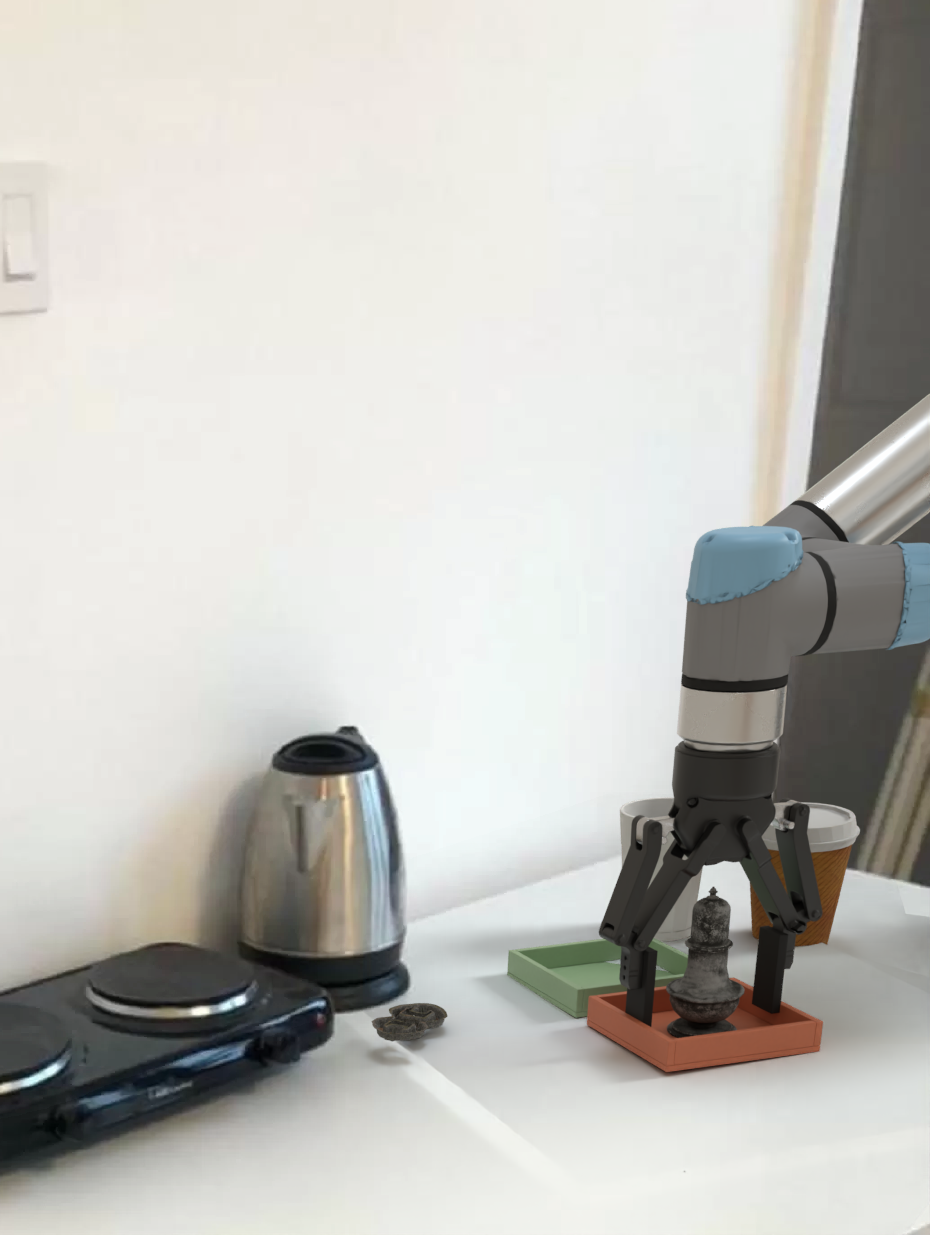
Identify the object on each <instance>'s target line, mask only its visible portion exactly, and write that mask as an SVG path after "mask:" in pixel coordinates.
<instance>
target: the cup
mask: <svg viewBox="0 0 930 1235" xmlns="http://www.w3.org/2000/svg"><path fill="white" fill-rule="evenodd" d="M673 801H674V797H649V798H648V797H647V798H641V799H635V800H632V801H629V802H626V803H624V804H622V805H621V806H620V808H619V825H620V826H619V828H620V845H621V867H622V866H623V864H624V861H625V858H626V856H627V853H628V850H629V848H630V845H631V824H632V820H633V819H634V817H636V816H638V815H643V816H645V817H647V818H654V817H661V816H667V815H668V813H669V811H670V809H671V807H672V805H673ZM666 838H667V843H666V844H662V846H661V852H660V856H659V859H658V862H657V865H656V868H655V870H654V873H653V876H652V878H651V881H650V884H651V883H652V881H653V880H654V878H655V876H656V875H657V873H658V872H659V870H660V868H661V867H662V865H663V857H664V855H665V853H666V852H667V850H668V849H669V847H670V845H671V844H672V842H673V841H674V837H673V835H672V834H671V832H670V833H669V834H668V835H667V837H666ZM682 859H683V860H686V859H688V858H687V857H686V856H685V854H684V856H683V858H682ZM703 868H704V866H703V867H702V869H701V871H700V872H699V873H698V874H697V875H696V876H694V877H692V878H691V879H690V881H689V882H688V884H687V886H686V887H685V889H684V890H683V892H682V893H681V895H680V897H679V898H678V900H677V901H676V903H675V905H674V906H673V908H672V909H671V911H670V913H669V914H668V916H667V917H666V919H665V920H664V922H663V924H662V925H661V927H660V928H659V930H658V932H657V933H656V935H655V936H654V938H655V939H657V940H659V941H661V942H673V941H680V940H684V939H688V938H690V937H691V924H692V911H693V907H694V904H695V903H696V902H697V901H698V900H699V899H698V898H699V893H700V886H701V881H702V880H701V879H702V874H703ZM650 884H649V886H650ZM649 886H648V888H649Z"/></svg>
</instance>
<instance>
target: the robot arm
mask: <svg viewBox="0 0 930 1235" xmlns="http://www.w3.org/2000/svg"><path fill="white" fill-rule="evenodd" d="M929 513H930V393H928V394H927V395H926V396H925V397H923V398H922V399H921V400H919V401H918V402H917V403H916V404H915V405H913V406H912V407H910V408H909V409H908V410H907V411H905V412H904V413H903V414H902V415H901V416H899V417H898V418H896V420H894V421H893V422H892V423H890V424H889V425H888V426H886V427H885V428H884V429H882V431H881V432H879V433H878V434H876V436H874V437H873V438H872V439H870V440H869V441H868V442H866V444H864V445H863V446H862V447H861V448H859V449H858V450H856V451H855V452H854V453H853V454H852V455H850V456H849V457H848V458H846V459H845V460H844V461H843V462H841V463H840V464H839V465H838V466H836V467H835V468H834V469H833V470H831V471H830V472H829V473H828V474H826V475H825V476H824V477H823V478H821V479H820V480H818V481H817V483H815V484H813V486H811V487H810V488H808V490H806V491H805V492H804V493H802V494H801V495H800V496H799V497H797V498H796V499H795V500H794V501H793V502H791V503H790V504H789V505H787V506H786V507H785V508H784V509H782V510H781V511H780V512H778V513H777V514H775V515H774V516H773V517H771V519H769V520H768V521H766V523H764V524H763V525H750V526H730V527H722V528H716V529H711V530H708V531H707V532H705V533H704V534H702V535H701V536H700V537H699V538H698V539H697V540H696V541H695V542H696V543H695V544H694V548H693V554H692V560H691V562H690V567H689V568H690V569H689V577H688V582H687V588H686V590H685V599H686V612H685V625H684V637H683V652H682V663H681V664H682V665H681V680H680V690H679V691H680V692H679V704H678V715H677V716H678V717H677V718H678V719H677V727H676V735H677V736H679V738H680V739H682V740H681V741H680V742H679V743H678V744H677V745H676V746H675V747H674V754H673V755H674V756H673V767H672V768H673V769H672V780H671V789H672V794H673V798H674V801H673V805H672V807H671V809H670V811H669V813H668V815H667V816H661V817H654V818H647V817H645V816H643V815H638V816H636V817H634V819H633V820H632V824H631V845H630V848H629V850H628V853H627V856H626V858H625V861H624V864H623V866H622V865H621V869H620V872H619V875H618V878H617V880H616V883H615V886H614V888H613V891H612V893H611V896H610V899H609V902H608V904H607V907H606V910H605V912H604V915H603V917H602V920H601V923H600V926H599V927H598V928H599V929H598V935H599V937H600V938H601V939H605V940H607V941H609V942H611V943H613V944H615V945H617V946H621V959H620V961H619V964H620V975H619V980H620V983H621V985H623V986H624V987H626V988H627V996H626V1009H625V1013H627V1014H629V1015H631V1016H632V1017H634V1018H636V1019H638V1020H639V1021H641V1022H643V1023H645V1024H646V1025H648V1026H650V1027H651V1025H652V1013H653V1001H654V989H655V977H656V970H657V966H658V965H657V953H658V951H656V950H654V949H653V948H651V947H649V944H650V943H651V941H652V940H653V938H654V936H655V935H656V933H657V932H658V930H659V928H660V927H661V925H662V924H663V922H664V920H665V919H666V917H667V916H668V914H669V913H670V911H671V909H672V908H673V906H674V905H675V903H676V901H677V900H678V898H679V897H680V895H681V893H682V892H683V890H684V889H685V887H686V886H687V884H688V882H689V881H690V879H691V878H692V877H694V876H696V875H697V874H698V873H699V872H700V871H701V869H702V867H703V868H704V866H705V867H707V866H715V865H718V864H720V863H722V862H728V863H739V864H740V865H741V868H742V870H743V872H744V873H745V874H744V875H745V876H746V878H747V879H748V881H749V884H750V883H751V885H752V887H753V889H754V891H755V893H756V895H757V897H758V899H759V901H760V903H761V904H762V906H763V908H764V910H765V912H766V914H767V916H768V918H769V920H770V922H771V923H772V924H773V927H770V926H761V927H760V930H759V939H757V950H756V951H757V952H756V959H755V960H756V961H755V967H754V968H755V969H754V979H753V986H752V987H753V997H752V1004H753V1005H755V1006H757V1007H759V1008H761V1009H763V1010H765V1011H767V1012H769V1013H771V1014H774V1013H780V1005H781V1001H782V997H783V996H782V995H783V987H784V977H785V970H790V969H791V967H792V965H793V963H794V958H795V957H794V955H795V948H796V946H795V940H796V934H797V935H800V934H802V933H804V932H805V931H806V929H807V922H809V921H814V922H815V921H818V920H819V919H820V918H821V917H822V914H823V911H822V906H821V901H820V896H819V891H818V886H817V880H816V875H815V870H814V865H813V860H812V855H811V850H810V845H809V840H808V835H807V829H808V822H809V815H810V808H809V806H808V805H806V804H803V803H800V802H801V801H797V800H795V799H791V798H789V797H784V798H782V799H781V800H779V801H778V802H774V800H773V793H774V792H775V791H776V789H777V787H778V778H779V769H780V768H779V767H780V759H781V758H780V757H781V747H779V744H777V742H775V741H776V740H778V739H779V738H780V737H781V736H783V735H784V726H785V714H786V702H787V690H788V683H789V672H790V667H791V660H792V657H803V656H809V655H820V654H831V653H843V652H845V653H846V652H857V651H869V650H879V649H885V651H890V650H893V649H895V648H899V647H904V646H910V645H915V644H922V643H924V642H926V641H928V640H930V542H929V543H928V542H903V541H897V540H896V539H897V538H899V537H900V536H901V535H902V534H904V533H905V532H906V531H908V530H909V529H910V528H912V527H913V526H914V525H915V524H916V523H917V522H919V521H921V520H922V519H923V518H924V517H926V516H927V515H929ZM895 540H896V541H895ZM771 823H772V824H773V827H774V828H775V834H776V840H777V845H778V850H779V854H780V859H781V864H782V869H783V874H784V879H785V884H786V888H787V892H786V890H785V888H784V886H783V884H782V882H781V880H780V878H779V876H778V874H777V872H776V871H775V869H774V867H773V865H772V863H771V859H772V857H771V855H770V853H769V851H768V849H767V847H766V845H765V843H764V841H763V839H762V835H763V834H764V832H765V831H766V830H767V828H768V827H769V825H770V824H771ZM670 832H671V834H672V835H673V837H674V841H673V842H672V844H671V845H670V847H669V849H668V850H667V852H666V853H665V855H664V857H663V865H662V867H661V868H660V870H659V872H658V873H657V875H656V876H655V878H654V880H653V881H652V883H651V884H650V881H651V878H652V876H653V873H654V870H655V868H656V865H657V862H658V859H659V856H660V852H661V846H662V844H666V843H667V838H666V837H667V835H668V834H669V833H670ZM684 854H685V856H686V857H687V858H688V859H686V860H683V859H682V858H683V856H684ZM702 870H703V869H702ZM649 884H650V886H649ZM648 886H649V888H648ZM787 893H788V894H787Z"/></svg>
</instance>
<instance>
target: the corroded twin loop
mask: <svg viewBox="0 0 930 1235" xmlns="http://www.w3.org/2000/svg"><path fill="white" fill-rule="evenodd" d="M388 1012H389V1014H390V1015H391V1016H379V1017H376V1018H375V1019H372V1020H371V1023H372V1027H373V1028H374V1029H375V1030H376V1034H377V1035H378V1037H380V1038H382V1039H384V1040H385V1041H390V1042H391V1043H392V1042H397V1041H399V1042H400V1041H408V1040H410V1041H411V1040H417V1039H420V1038H422V1037H424V1035H425V1031H426V1030H431V1029H434V1028H440V1027H441V1026H443V1025H444V1022H445V1019H446V1018H448V1013H447V1011H446V1009H445V1008H443V1007H441V1006H439V1005H437V1004H434V1003H428V1002H415V1003H414V1002H413V1003H405V1004H398V1005H395V1006H394V1005H393V1006H392V1007H389V1008H388Z"/></svg>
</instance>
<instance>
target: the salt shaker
mask: <svg viewBox="0 0 930 1235" xmlns="http://www.w3.org/2000/svg"><path fill="white" fill-rule="evenodd" d="M718 892H719V891H718V890H717V888H716V886H712V887H711V888H710V890H708V892H707V893H708V894H709V895H707V896H705V897H703V898H700V899H698V900H697V902H696V903H695V904H694V907H693V911H692V924H691V936H689V937H687V938H686V940H685V941H684V945H685V947H687V948H688V950H687V952H688V953H687V955H688V962H687V968H686V971H685V973H684V976H683V977H682V978H679V979H675V980H673V981H671V982H670V983H669V984H667V986H666V991H667V992H668V994H670V998H669V1000H670V1003H671V1005H672V1008H673V1010H674V1011H675V1012H676V1013H677V1014H678V1015H679V1016H680V1018H678V1019H676V1020H674V1021H672V1022H671V1023H670V1024H668V1026H667V1031H668V1033H669V1034H671V1035H672V1036H674V1037H676V1038H682V1037H690V1036H697V1035H705V1034H712V1033H720V1032H727V1031H735V1030H737V1029H736V1027H735V1026H734V1025H733V1024H731V1023H730V1022H728V1021H727V1020H725V1019H726V1018H727V1017H729V1016H730V1015H731V1014H732V1013H733V1012H734V1011H735V1009H736V1008H737V1006H738V1004H739V998H740V997H741V996H742V995H743V994H744V991H745V989H744V988H743V986H742V985H741V984H739V983H738V982H735V981H733V980H730V979H729V978H730V976H729V971H728V960H729V959H728V958H729V949H731V948H732V947H734V946H733V945H734V941H733V940H732V939H730V938H729V934H730V926H731V925H730V924H731V915H732V914H731V913H732V909H731V908H732V907H731V905H730V903H729V901H728V900H726V899H724V898H722V897H719V895H717V894H718Z"/></svg>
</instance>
